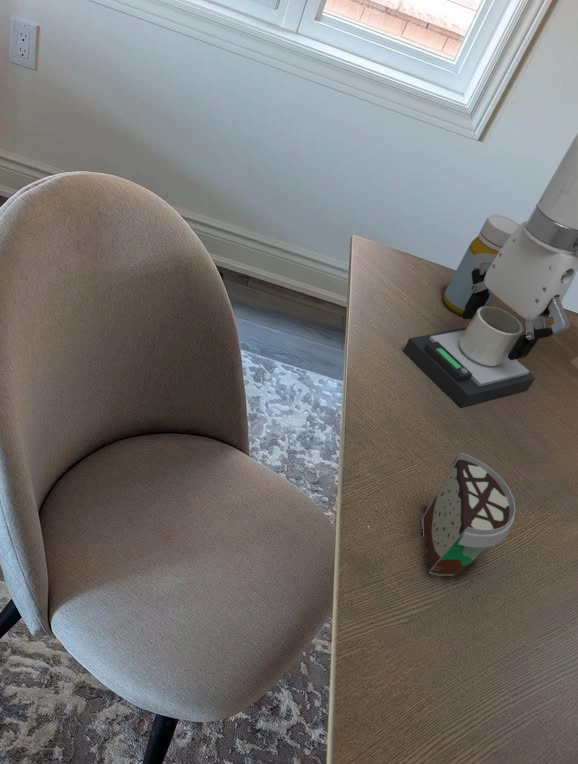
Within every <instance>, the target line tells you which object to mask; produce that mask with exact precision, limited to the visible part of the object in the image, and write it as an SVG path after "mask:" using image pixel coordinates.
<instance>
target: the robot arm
mask: <svg viewBox="0 0 578 764" xmlns="http://www.w3.org/2000/svg"><path fill="white" fill-rule="evenodd" d="M545 187H546V188H544V190H543V192H542V194H541V196H540V198H539V200H538V201H537V202H536V205H535V206H534V208H533V210H532V212H531V214H530V215H529V217H528V219H527V221H522V222H521V224H520V226H519V227H518V228H517V229H516V230H515V231H514V232H513V234H512V235H511V236H510V237H509V239H508V240H507V241H506V243H505V244H504V245H503V247H502V248H501V250H500V251H499V253H498V254H487V253H480V254H475V256H474V264H473V268H474V270H473V271H472V281H473V286H472V287H471V291H472V292H473V293H472V295H471V297H470V298H469V300H468V302H467V304H466V306H465V310H464V312H463V314H462V316H461V315H460V316H461V318H462V319H463V320H469V319H473V317H474V315H475V313H476V312H477V310H478V309H479V308H480V307H483V306H484V305H485V304H486V302H487V300H488V298H489V295H490V293H488V291H491V292H492V293H493V295H494V296H495V297H496V298H497V299H499V300H500V301H501V302H503V304H505V305H506V306H507V307H508V308H510V309H511V310H512V311H513V312H514V313H516V314H517V315H518V316H519V317H521V318H522V319H524V326H525V333H524V334H521V335H520V336H519V338H518V339H517V341H516V342H515V344H514V346H513V347H512V349H511V350H510V352H509V354H508V358H509V359H510V360H515V359H516V360H519V359H523V358H526V357H527V356H529V354H530V353H531V351H532V350H533V348H534V347H535V345H536V344H537V342H538V340H539V339H544V338H549V337H553V336H557V334H559V333H562V332H563V331H565V330H567V329H569V328H570V327H571V322H570V320H569V318H568V315H567V313H566V311H565V308H564V306H563V303H562V302H563V299H564V298H565V296H566V294H567V292H568V290H569V288H570V287H571V285H572V283H573V281H574V279H575V277H576V274H577V272H578V132H577V133H576V135H575V137H574V138H573V139H572V141H571V143H570V145H569V147H568V149H567V150H566V152H565V154H564V155H563V158H562V159H561V161H560V162H559V164H558V166H557V168H556V170H555V172H554V173H553V175H552V177H551V178H550V180H549V182H548V184H547V185H546V186H545ZM486 264H491V265H490V267H489V269H488V271H487V273H486V271H485V267H486ZM546 318H552V320H553V323H552V324H551V325H549V326H547V325H546Z"/></svg>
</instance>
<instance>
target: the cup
mask: <svg viewBox="0 0 578 764" xmlns="http://www.w3.org/2000/svg"><path fill="white" fill-rule="evenodd" d="M466 328H467V329H466V331H465V332H464V334H463V336H462V338H461V339H460V347H461V350H462V352H463V353H464V354H465V355H466V356H467V357H468V358H469V359H470V360H472V361H473V362H475V363H477V364H480V365H483V366H497V365H500V364H501V363H502V362H503V361H504V360H505V358H506V356H507V355H508V353H510V351H511V350H512V348H513V347H514V345H515V343H516V342H517V340H518V339H519V337H520V336H521V335H522V333H523V332H524V327H523V325H522V323H521V321H520V320H519V319H518V318H516V316H514V315H513V314H512V313H510V312H509V311H506V310H504V309H502V308H500V307H496V306H493V305H492V306H490V305H486V306H483V307H480V308H479V309H478V310H477V312H476V313H475V315H474V317H473V318H471V320H470V322H469V324H468V326H467V327H466Z"/></svg>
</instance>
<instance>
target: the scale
mask: <svg viewBox="0 0 578 764" xmlns="http://www.w3.org/2000/svg"><path fill="white" fill-rule="evenodd" d="M466 329H467V327H463V328H458V329H453V330H447V331H441V332H436V333H431V334H425V335H420V336H414V337H410V338H408V340H407V341H406V344H405V345H404V348H403V349H402V352H403V353H404V354H405V356H407V357H408V358H409V359H410V360H411V361H412V362H413V363H414V364H415V365H416V366H417V367H418V368H419V369H420V370H421V371H422V372H424V374H425V375H426V376H427V377H428V378H429V379H430V380H431V381H432V382H433V383H434V384H435V385H436V386H438V387H439V389H441V390H442V392H443V393H445V394H446V395H447V396H448V398H450V400H452V401H453V402H454V403H455V405H457V406H458V407H459V408H460V409H462V408H466V407H470V406H473V405H474V406H475V405H478V404H481V403H485V402H489V401H492V400H496V399H500V398H504V397H508V396H511V395H512V396H513V395H515V394H520V393H523V392H527V391H529V389H530V387H532V385H533V383H534V382H535V380H536V379H537V377H536V376H534V375H533V374H532V373H531V372H530V370H529V369H528V368H526V367H525V366H524V365H523V364H522V363H521V362H520V361H518V359H515V360H510V359H509V358H508V355H507V356H506V358H505V360H504V361H503V362H502V363H501V364H500V365H497V366H483V365H480V364H477V363H475V362H473V361H472V360H470V359H469V358H468V357H467V356H466V355H465V354H464V353H463V352H462V350H461V347H460V339H461V338H462V336H463V334H464V332H465V331H466ZM509 353H510V352H509ZM509 353H508V354H509Z"/></svg>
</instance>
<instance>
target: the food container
mask: <svg viewBox="0 0 578 764" xmlns="http://www.w3.org/2000/svg"><path fill="white" fill-rule="evenodd" d="M451 464H452V466H451V468H450V470H449V471H448V473H447V474H446V476H445V478H444V479H443V481H442V483H441V485H440V486H439V488H438V489H437V491H436V492H435V495H434V496H433V498H432V500H431V501H430V503H429V505H428V507H427V508H426V509H425V511H424V513H423V515H422V517H421V533H422V532H423V536H422V537H424V536H428V538H427V539H428V540H427V541H428V562H429V563H428V564H429V571H428V574H430V575H435V576H441V577H445V576H447V577H449V576H450V577H452V576H456V575H458V574H461V573H462V572H464V571H465V570H466V569H467V567H469V566H470V565H471V564H472V563H473V562H474V561H475V560H476V559H477V558H478V557H479V556H480V555H481V554H482V552H484V551H485V550H486V548H488V547H493V546H495V545H498V544H499V543H501V542H502V541H504V540H505V538H506V537H508V534H509V532H510V531H511V528H512V525H513V523H514V520H515V515H516V502H515V499H514V498H515V497H514V495H513V494H512V491H511V490H510V487H509V486H508V485H507V483H506V482H505V481H504V479H503V478H502V477H501V476H500V475H499V474H498V472H496V471H495V470H493V469H492V468H491V467H490V466H488V465H487V464H486V463H484V462H483V461H481V460H480V459H478V458H475V457H473V456H471V455H469V454H467V453H464V452H460V453H459V454H458V455H457V456H456V457H455V458H454V459H453V460H452V462H451ZM422 529H423V531H422Z"/></svg>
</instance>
